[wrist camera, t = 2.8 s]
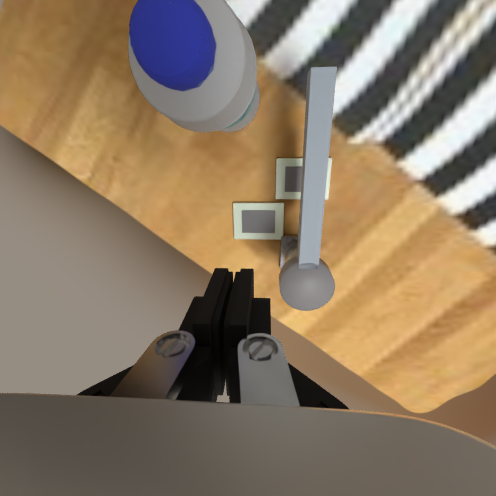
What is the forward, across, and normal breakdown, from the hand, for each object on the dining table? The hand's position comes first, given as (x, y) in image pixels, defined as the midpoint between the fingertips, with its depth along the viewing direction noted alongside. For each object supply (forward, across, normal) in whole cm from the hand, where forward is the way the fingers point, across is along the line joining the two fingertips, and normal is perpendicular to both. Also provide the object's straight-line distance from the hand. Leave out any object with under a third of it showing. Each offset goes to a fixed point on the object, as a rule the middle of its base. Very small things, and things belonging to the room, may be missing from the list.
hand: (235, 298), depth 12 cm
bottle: (+22, +3, -10) cm, 25 cm away
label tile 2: (+22, 0, +3) cm, 22 cm away
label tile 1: (+22, -5, -2) cm, 23 cm away
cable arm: (+19, -5, -1) cm, 20 cm away
